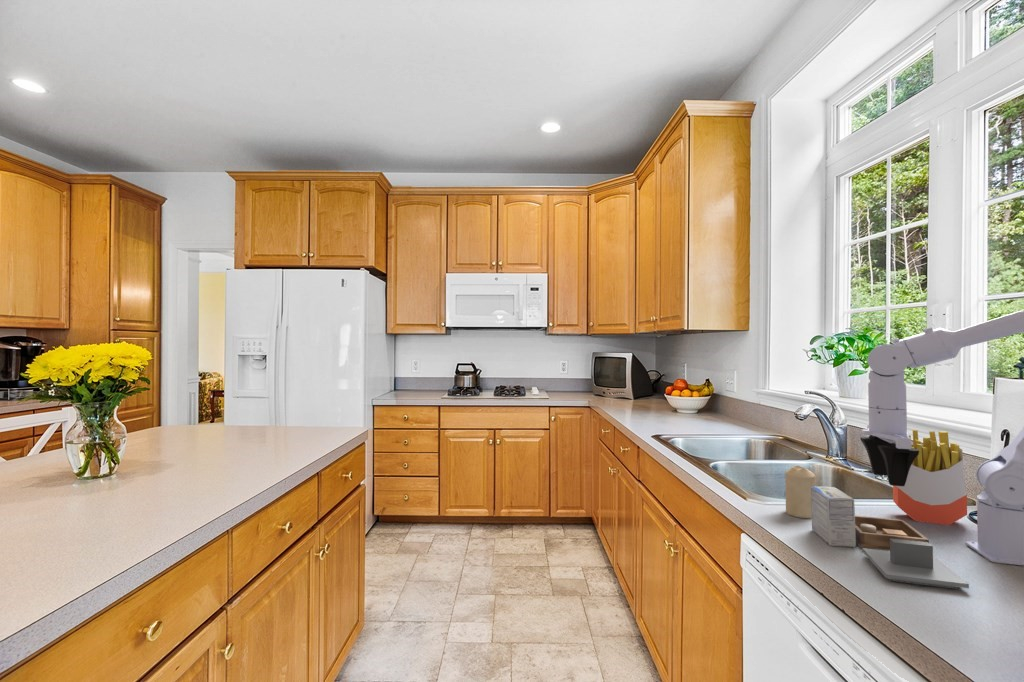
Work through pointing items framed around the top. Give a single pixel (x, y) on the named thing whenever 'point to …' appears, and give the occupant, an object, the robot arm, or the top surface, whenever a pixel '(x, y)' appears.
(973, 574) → the top surface
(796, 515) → the candle
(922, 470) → the french fries container
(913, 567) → the lid
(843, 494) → the medicine box
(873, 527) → the box
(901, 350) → the robot arm
